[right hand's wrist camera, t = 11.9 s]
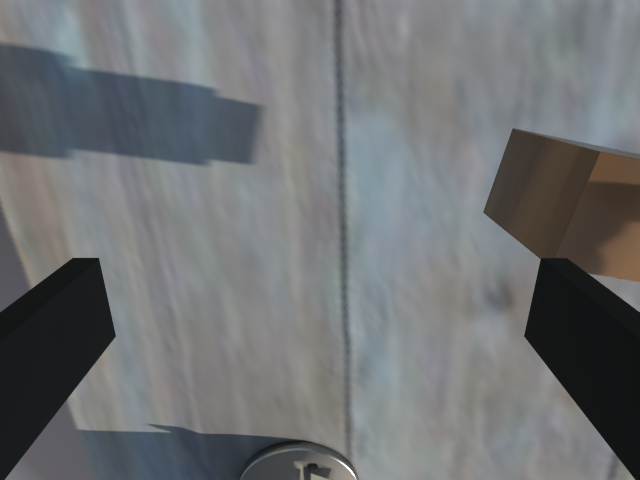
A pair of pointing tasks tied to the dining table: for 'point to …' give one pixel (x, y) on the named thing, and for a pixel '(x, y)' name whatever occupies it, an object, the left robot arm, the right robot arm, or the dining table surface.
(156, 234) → the dining table surface
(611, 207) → the bar
